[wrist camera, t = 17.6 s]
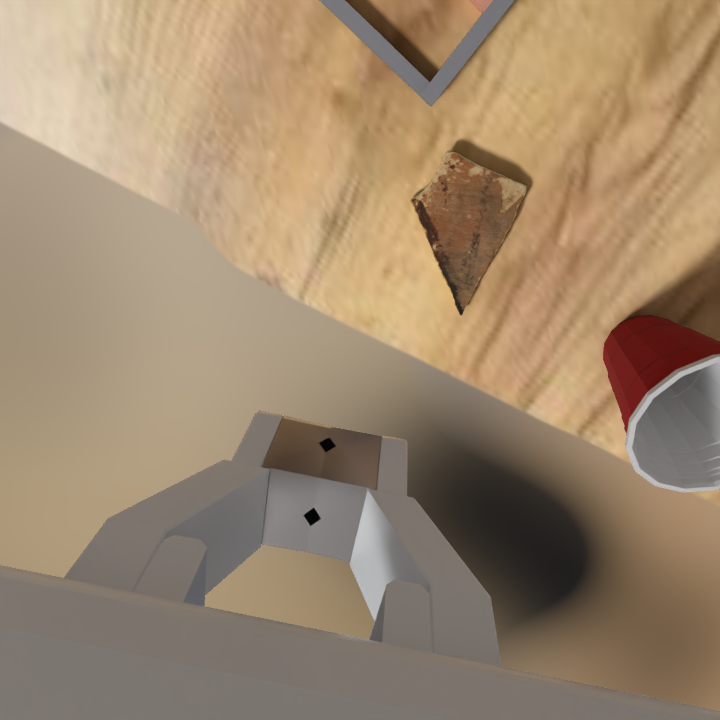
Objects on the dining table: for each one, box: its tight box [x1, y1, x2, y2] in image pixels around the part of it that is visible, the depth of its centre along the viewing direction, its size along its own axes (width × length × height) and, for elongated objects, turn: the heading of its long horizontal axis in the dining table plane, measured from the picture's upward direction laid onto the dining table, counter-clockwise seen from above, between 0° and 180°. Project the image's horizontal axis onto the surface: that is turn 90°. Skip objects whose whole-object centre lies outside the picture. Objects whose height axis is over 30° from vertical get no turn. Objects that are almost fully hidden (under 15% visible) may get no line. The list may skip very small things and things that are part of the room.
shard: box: [410, 151, 527, 315], centre depth 38 cm, size 11×8×2 cm
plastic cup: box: [603, 315, 720, 492], centre depth 36 cm, size 11×11×12 cm
